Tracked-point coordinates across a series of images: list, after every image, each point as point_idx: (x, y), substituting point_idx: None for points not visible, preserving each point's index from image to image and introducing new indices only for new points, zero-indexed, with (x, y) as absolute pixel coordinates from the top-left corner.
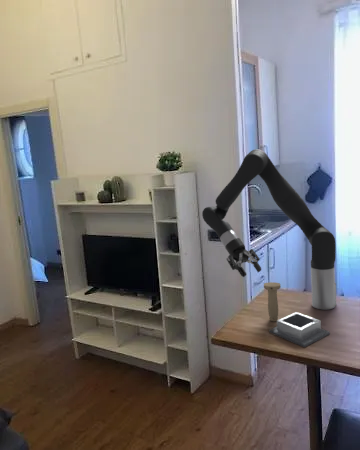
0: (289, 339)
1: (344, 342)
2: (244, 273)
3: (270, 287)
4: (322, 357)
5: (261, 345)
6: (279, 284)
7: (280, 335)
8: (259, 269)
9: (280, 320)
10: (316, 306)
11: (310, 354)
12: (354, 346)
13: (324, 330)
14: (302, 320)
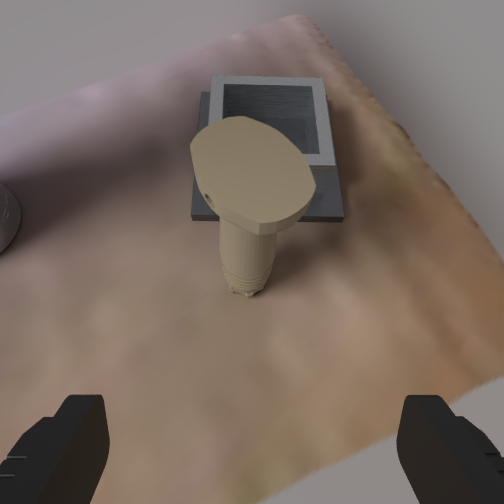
0: (332, 140)
1: (218, 60)
2: (447, 410)
3: (294, 152)
4: (326, 58)
5: (425, 181)
6: (212, 129)
7: (336, 171)
8: (95, 413)
9: (323, 156)
10: (13, 222)
11: (339, 78)
12: (220, 40)
13: (205, 103)
14: None
